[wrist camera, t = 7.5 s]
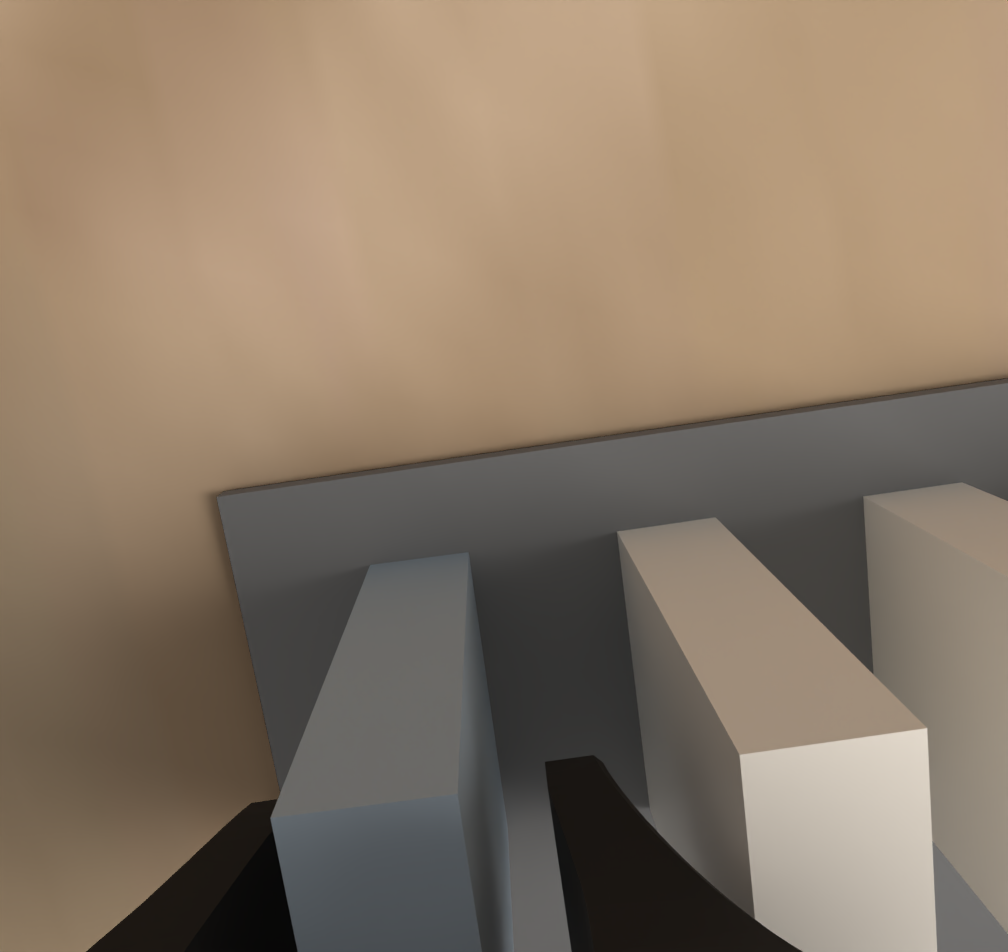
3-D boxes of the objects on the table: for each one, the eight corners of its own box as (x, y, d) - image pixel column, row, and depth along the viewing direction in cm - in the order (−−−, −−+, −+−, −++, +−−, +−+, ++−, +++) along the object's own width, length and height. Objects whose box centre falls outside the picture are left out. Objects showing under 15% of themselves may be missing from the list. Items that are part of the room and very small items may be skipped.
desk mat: (1575, 296, 14) (1604, 296, 14) (1489, 1068, 18) (1512, 1086, 17) (223, 490, 15) (216, 496, 14) (380, 1223, 18) (378, 1245, 17)
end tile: (468, 552, 14) (456, 793, 8) (508, 827, 15) (528, 1257, 9) (369, 564, 14) (270, 818, 8) (416, 839, 16) (364, 1279, 9)
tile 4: (715, 517, 14) (927, 728, 8) (741, 795, 15) (948, 1199, 9) (616, 531, 14) (739, 754, 8) (649, 807, 15) (783, 1222, 9)
